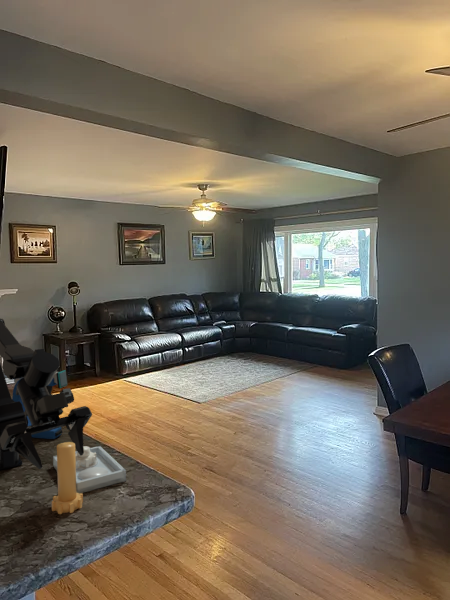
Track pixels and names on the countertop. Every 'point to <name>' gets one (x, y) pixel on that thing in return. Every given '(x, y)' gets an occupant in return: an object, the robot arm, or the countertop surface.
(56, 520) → the countertop surface
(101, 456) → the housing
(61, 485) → the tan gear peg
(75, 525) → the countertop surface
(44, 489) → the countertop surface
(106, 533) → the countertop surface
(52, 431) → the handheld scanner
